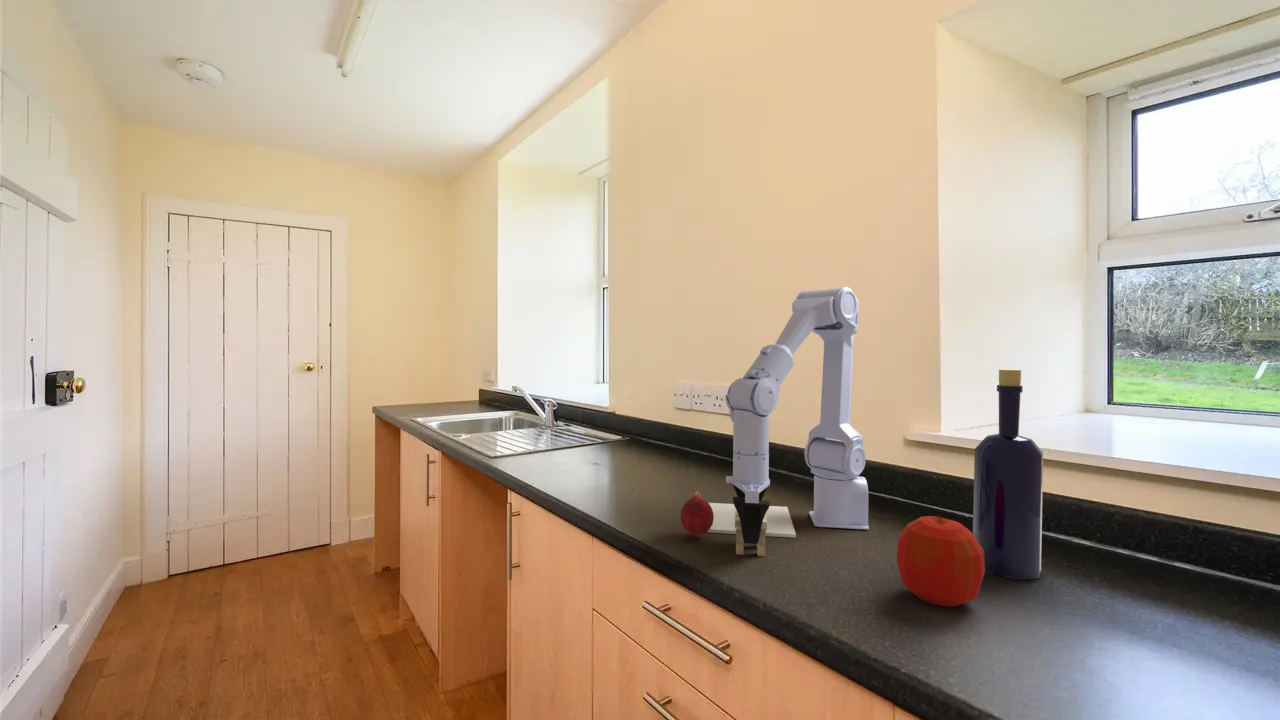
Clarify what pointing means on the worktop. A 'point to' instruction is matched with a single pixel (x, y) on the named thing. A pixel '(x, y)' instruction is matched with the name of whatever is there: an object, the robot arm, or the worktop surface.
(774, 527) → the mat
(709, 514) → the onion
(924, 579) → the apple
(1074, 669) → the worktop surface
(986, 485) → the bottle
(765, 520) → the stool
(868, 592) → the worktop surface
